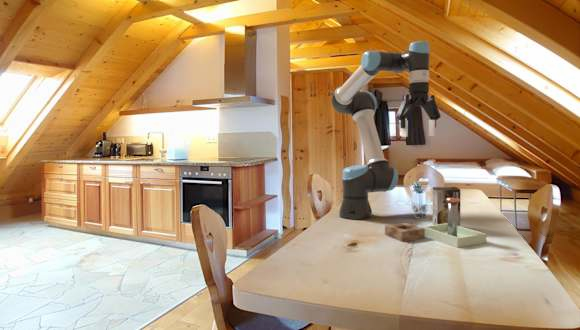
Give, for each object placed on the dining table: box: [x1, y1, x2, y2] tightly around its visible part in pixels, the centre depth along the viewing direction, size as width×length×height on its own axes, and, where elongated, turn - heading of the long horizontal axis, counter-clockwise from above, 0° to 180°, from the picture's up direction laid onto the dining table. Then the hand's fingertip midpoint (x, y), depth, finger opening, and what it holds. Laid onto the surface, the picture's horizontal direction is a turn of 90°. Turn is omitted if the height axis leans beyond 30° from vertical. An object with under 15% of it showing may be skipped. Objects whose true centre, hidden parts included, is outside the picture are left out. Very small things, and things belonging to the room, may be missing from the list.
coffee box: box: [432, 186, 461, 226], centre depth 145 cm, size 9×6×16 cm
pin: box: [446, 197, 461, 237], centre depth 130 cm, size 4×4×14 cm
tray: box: [420, 223, 487, 248], centre depth 130 cm, size 17×13×3 cm
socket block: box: [384, 222, 426, 243], centre depth 134 cm, size 10×10×4 cm
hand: (418, 136), depth 145 cm, fingers open, 13 cm apart
